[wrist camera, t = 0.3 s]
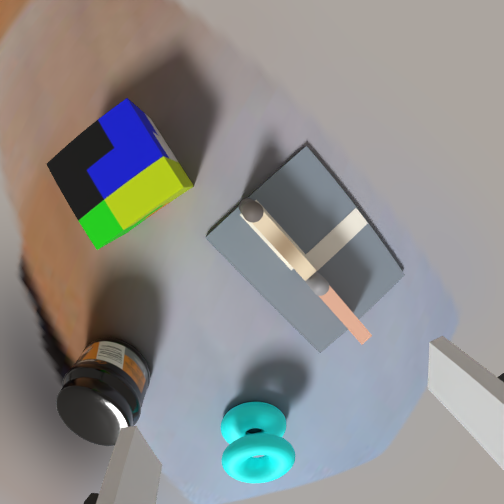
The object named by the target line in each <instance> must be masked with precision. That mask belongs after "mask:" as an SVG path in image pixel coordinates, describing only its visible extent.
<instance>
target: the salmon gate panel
mask: <svg viewBox="0 0 504 504" xmlns="http://www.w3.org/2000/svg"><path fill="white" fill-rule="evenodd" d="M302 279H303V278H302ZM303 280H304V279H303ZM304 281H305V280H304ZM305 282H306V283H307V285H308V286H309V287H310V288H311V290H312V291H313V292H314V293H315V294H316V295H318V296H319V297H320V298H321V299H322V300H323V302H324V303H325V304H326V305H327V306H328V307H329V308H330V309H331V311H332V312H333V313H334V314H335V315H336V316H337V317H338V318H339V319H340V321H341V322H342V323H343V324H344V325H345V326H346V327H347V328H348V330H349V331H350V332H351V333H352V334H353V335H354V336H355V337H356V339H357V340H358V341H359V342H360V343H361V344H363V343H364V342H366V341H367V340H368V339H369V338H370V337H371V336H372V335H371V334H370V333H369V331H368V330H367V329H366V328H365V327H364V325H363V324H362V323H361V322H360V321H359V319H358V318H357V317H356V316H355V315H354V313H353V312H352V311H351V310H350V309H349V308H348V306H347V305H346V304H345V303H344V302H343V301H342V299H341V298H340V297H339V296H338V295H337V294H336V292H335V291H334V290H333V289H332V288H331V287H330V285H329V283H328V281H327V280H326V279H325V278H324V277H323V276H321V275H320V274H319V273H318V272H317V271H316V272H315V273H314V274H313V275H311V276H310V277H309V278H308V279H307V280H306V281H305Z"/></svg>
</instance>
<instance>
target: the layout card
mask: <svg viewBox="0 0 504 504" xmlns="http://www.w3.org/2000/svg"><path fill="white" fill-rule="evenodd" d="M248 198H250V199H252V200H254V201H256V202H258V203H259V204H260V205H261V206H262V207H263V211H264V212H265V213H266V215H267V216H268V217H269V218H270V219H271V220H272V221H273V222H274V223H275V224H276V226H277V227H278V228H279V229H280V230H281V231H282V232H283V233H284V234H285V236H286V237H287V238H288V239H289V240H290V241H291V242H292V243H293V245H294V246H295V247H296V248H297V249H298V250H299V251H300V252H301V254H302V255H303V256H304V257H305V258H306V259H307V260H308V261H309V263H310V264H311V265H312V266H313V267H314V268H315V269H316V271H317V272H318V273H319V274H320V275H321V276H323V277H324V278H325V279H326V280H327V281H328V283H329V285H330V287H331V288H332V289H333V290H334V291H335V292H336V294H337V295H338V296H339V297H340V298H341V299H342V301H343V302H344V303H345V304H346V305H347V306H348V308H349V309H350V310H351V311H352V312H353V313H354V315H355V316H356V317H357V318H358V319H360V318H361V317H362V316H363V315H364V314H365V313H366V312H367V311H368V310H369V309H370V308H372V307H373V306H374V305H375V304H376V303H377V302H378V301H379V300H380V299H381V298H382V297H383V296H384V295H385V294H386V293H387V292H388V291H389V290H390V289H391V288H392V287H393V286H394V285H395V284H396V283H397V282H398V281H399V280H400V279H401V278H402V277H403V276H404V275H405V274H404V273H403V271H402V270H401V269H400V267H399V266H398V264H397V263H396V261H395V260H394V258H393V257H392V255H391V254H390V252H389V251H388V250H387V248H386V247H385V245H384V244H383V242H382V241H381V240H380V238H379V237H378V235H377V234H376V233H375V231H374V230H373V229H372V227H371V226H370V225H369V223H368V222H367V220H366V219H365V218H364V216H363V215H362V214H361V212H360V211H359V210H358V209H357V207H356V206H355V205H354V203H353V202H352V201H351V199H350V198H349V197H348V196H347V194H346V193H345V192H344V190H343V189H342V188H341V187H340V185H339V184H338V183H337V182H336V181H335V179H334V178H333V177H332V176H331V174H330V173H329V172H328V171H327V169H326V168H325V167H324V166H323V165H322V163H321V162H320V161H319V160H318V159H317V158H316V156H315V155H314V154H313V153H312V152H311V151H310V149H309V148H308V147H307V146H305V147H304V148H303V149H302V150H300V151H299V152H298V153H297V154H296V155H295V156H294V157H292V158H291V159H290V160H289V161H288V162H287V163H286V164H284V165H283V166H282V167H281V168H280V169H279V170H278V171H277V172H275V173H274V174H273V175H272V176H271V177H270V178H269V179H268V180H267V181H265V182H264V183H263V184H262V185H261V186H260V187H259V188H258V189H257V190H256V191H254V192H253V193H252V194H251V195H250V196H249V197H248ZM206 239H207V240H208V241H209V242H210V243H211V244H212V245H213V246H214V247H215V248H216V249H217V250H218V251H219V252H220V253H221V254H222V255H223V256H224V257H225V258H226V259H227V260H228V261H229V263H230V264H231V265H232V266H233V267H234V268H235V269H236V270H237V271H238V272H239V273H240V274H241V275H242V276H243V277H244V278H245V279H246V280H247V281H248V282H249V283H250V284H251V285H252V286H253V287H254V288H255V289H256V290H257V291H258V292H259V293H260V294H261V295H262V296H263V297H264V298H265V299H266V300H267V301H268V302H269V303H270V304H271V305H272V306H273V307H274V308H275V309H276V310H277V311H278V312H279V313H280V314H281V315H282V316H283V317H284V318H285V319H286V320H287V321H288V322H289V323H290V324H291V325H292V326H293V327H294V328H295V329H296V330H297V331H298V332H299V333H300V334H301V335H302V336H303V337H304V338H305V339H306V340H307V341H308V342H309V343H310V344H311V345H312V346H313V347H314V348H315V349H316V350H317V351H318V352H319V353H321V352H322V351H323V350H324V349H326V348H327V347H328V346H329V345H330V344H332V343H333V342H334V341H335V340H336V339H337V338H338V337H340V336H341V335H342V334H343V333H344V332H345V331H346V330H348V328H347V327H346V326H345V325H344V324H343V323H342V322H341V321H340V319H339V318H338V317H337V316H336V315H335V314H334V313H333V312H332V311H331V309H330V308H329V307H328V306H327V305H326V304H325V303H324V302H323V300H322V299H321V298H320V297H319V296H318V295H316V294H315V293H314V292H313V291H312V290H311V288H310V287H309V286H308V285H307V283H306V282H305V281H304V280H303V279H302V277H301V276H300V275H299V274H298V273H297V272H296V271H295V269H294V268H293V267H292V266H291V265H290V264H289V263H288V262H287V261H286V260H285V258H284V257H283V256H282V255H281V254H280V253H279V252H278V251H277V250H276V249H275V248H274V246H273V245H272V244H271V243H270V242H269V241H268V240H267V239H266V238H265V237H264V236H263V235H262V233H261V232H260V231H259V230H258V229H257V228H256V227H255V226H254V225H253V224H252V223H251V222H248V221H247V220H246V219H245V218H244V217H243V215H242V213H241V212H240V210H239V206H238V207H237V208H236V209H235V210H234V211H233V212H232V213H230V214H229V215H228V216H227V217H226V218H225V219H224V220H223V221H222V222H221V223H220V224H219V225H218V226H217V227H215V228H214V229H213V230H212V231H211V232H210V233H209V234H208V235H207V236H206Z"/></svg>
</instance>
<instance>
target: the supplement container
mask: <svg viewBox="0 0 504 504" xmlns="http://www.w3.org/2000/svg"><path fill="white" fill-rule="evenodd" d="M149 382H150V371H149V367H148V365H147V362H146V361H145V359H144V357H143V356H142V355H141V354H140V353H139V352H138V350H136V349H135V348H134V347H133V346H131V345H130V344H128V343H126V342H124V341H122V340H119V339H114V338H101V339H97V340H95V341H93V342H91V343H90V344H89V345H88V346H87V347H86V348H85V349H84V351H83V353H82V354H81V356H80V357H79V359H78V360H77V361H76V363H75V364H74V366H73V367H72V369H70V370H69V371H68V372H67V374H66V375H65V377H64V380H63V384H62V389H61V390H60V392H59V393H58V395H57V399H56V407H57V411H58V413H59V416H60V417H61V419H62V420H63V422H64V423H65V424H66V426H67V427H68V428H69V429H70V430H71V431H73V432H74V433H75V434H76V435H78V436H79V437H81V438H83V439H85V440H87V441H89V442H91V443H94V444H98V445H104V446H113V445H115V444H116V441H117V438H118V436H119V433H120V430H121V427H131V426H134V425H135V424H136V423H137V421H138V419H139V417H140V414H141V407H142V403H143V400H144V397H145V394H146V390H147V388H148V386H149Z"/></svg>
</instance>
